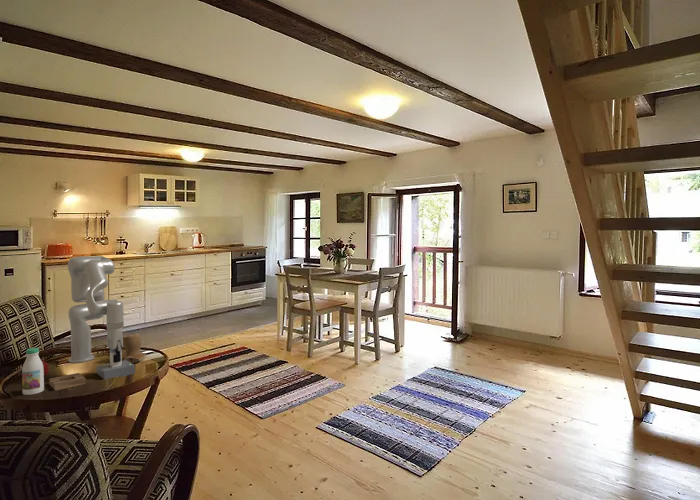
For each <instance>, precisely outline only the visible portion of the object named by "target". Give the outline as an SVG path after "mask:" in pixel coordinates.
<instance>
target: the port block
mask: <svg viewBox="0 0 700 500" xmlns="http://www.w3.org/2000/svg"><path fill="white" fill-rule="evenodd" d="M123 360H124V359H123ZM123 360H122V366H117V367H113V368H110V363H106V364H101V365H97V366H96V374H97V375H98V376H99V377H101V378H102V379H103V380H108V379H111V378H116V377H119V378H122V377H125V376H130V375H131V376H132V375H135V374H136V366H135V365H136V364H134V363H130V362H129V361H127V360H124V361H123Z"/></svg>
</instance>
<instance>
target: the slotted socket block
mask: <svg viewBox="0 0 700 500" xmlns="http://www.w3.org/2000/svg"><path fill="white" fill-rule="evenodd" d="M86 381H87V379H86V377H85V376H83V375H82V374H80V373H79V372H77V373H72V374H68V375H67V374H66V375H61V376H57V377H53V378H49V379H48V384H49V386H51V388H52V389H53V390H54V391H60V390H64V389H69V388H72V387H73V388H74V387H77V386H82V385H85V384H87V382H86Z"/></svg>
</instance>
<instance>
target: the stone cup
mask: <svg viewBox="0 0 700 500" xmlns="http://www.w3.org/2000/svg"><path fill="white" fill-rule="evenodd" d="M141 345H142V337H141V334H140V333H139V332H136V333H131V334H126V335H123V348H124V351H125V352H126V355H125V357H124V359H122V361H124V360H127V361H129V362H130V363H132V364H134V363H138V362H140V361H142V360H143V358H145V357H146V355H147V353H146V352H141V347H142V346H141Z"/></svg>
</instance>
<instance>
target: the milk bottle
mask: <svg viewBox="0 0 700 500" xmlns="http://www.w3.org/2000/svg"><path fill="white" fill-rule="evenodd" d="M39 353H40V349H39V347H30V348H27V349H26V350H25V355H26V358H25V361H24V363H23V365H22V368H21V369H22V370H21V386H22V387H21V388H22V395H24V396H28V395H29V396H30V395H35V394H36V395H37V394H39V393H42V392H44V391H45V376H44V369H43V363H42V362H43V360H42V359H41V358H40V356H39ZM40 359H41V360H40Z"/></svg>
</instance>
